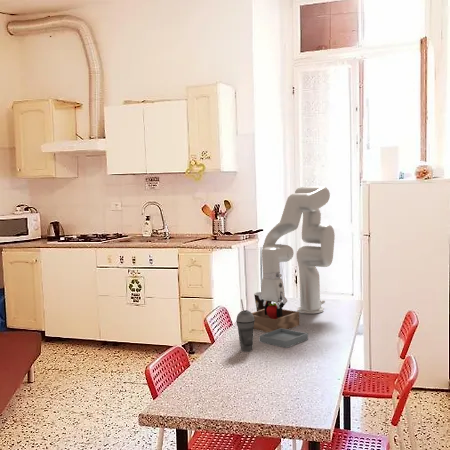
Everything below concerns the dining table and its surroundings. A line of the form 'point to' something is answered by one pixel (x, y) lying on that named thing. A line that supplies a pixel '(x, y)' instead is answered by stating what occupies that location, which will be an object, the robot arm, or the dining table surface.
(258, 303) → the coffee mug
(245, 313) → the beverage cup
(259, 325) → the walnut bin
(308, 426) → the dining table surface
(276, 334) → the slate tray
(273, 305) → the strawberry
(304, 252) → the robot arm
